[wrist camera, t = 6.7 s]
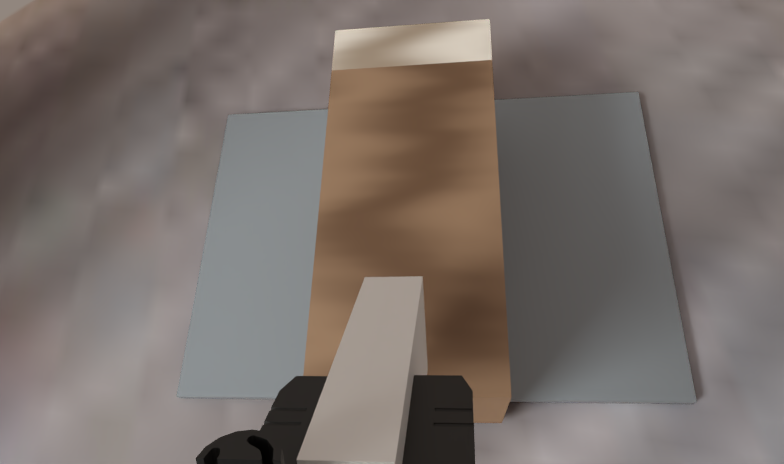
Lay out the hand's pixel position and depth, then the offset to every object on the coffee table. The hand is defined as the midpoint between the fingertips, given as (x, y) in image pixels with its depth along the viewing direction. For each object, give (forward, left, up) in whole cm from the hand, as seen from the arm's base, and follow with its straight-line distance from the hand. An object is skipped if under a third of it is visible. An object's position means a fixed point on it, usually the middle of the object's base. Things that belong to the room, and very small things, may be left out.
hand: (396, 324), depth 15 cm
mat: (0, +6, -9) cm, 11 cm away
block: (0, -1, -5) cm, 5 cm away
